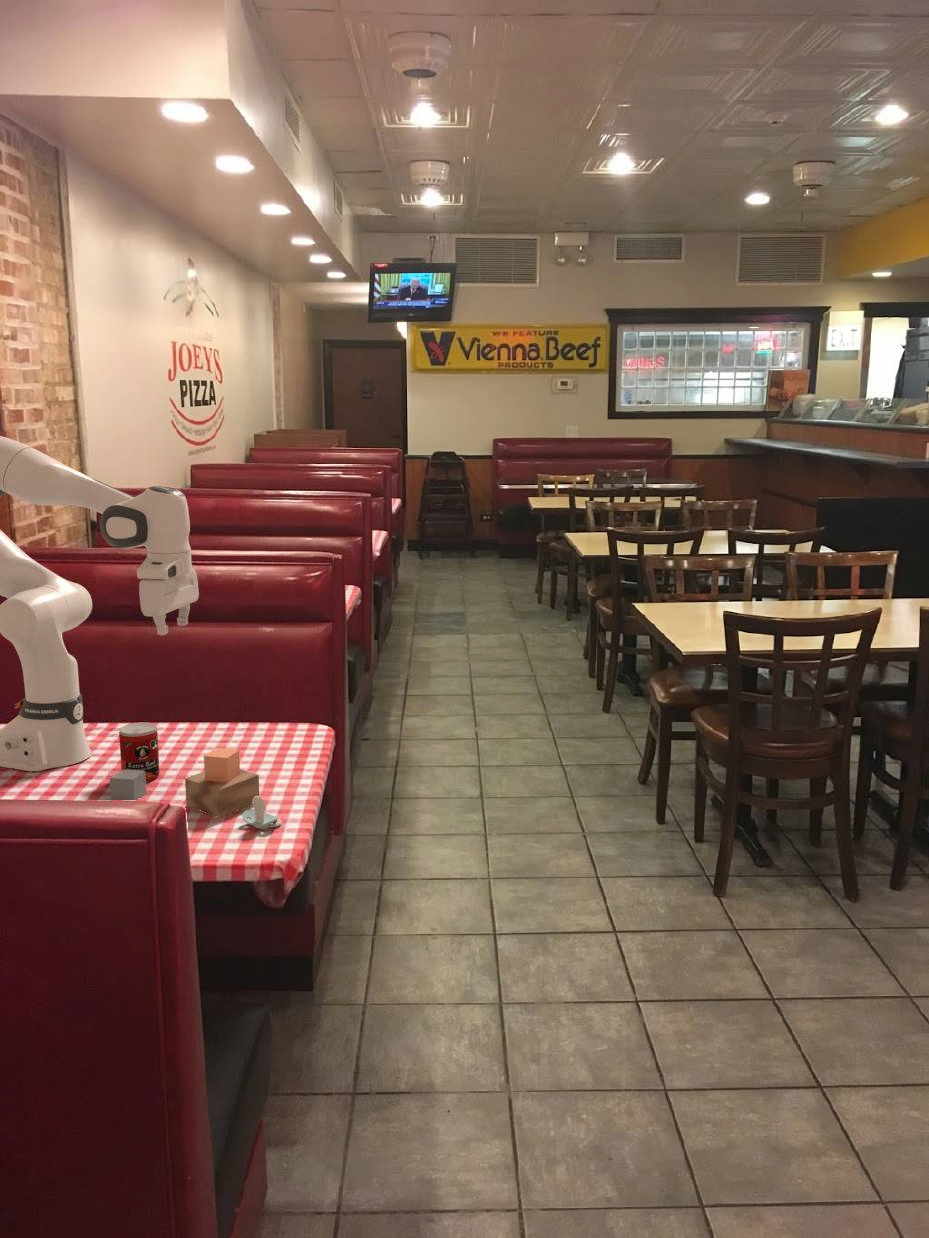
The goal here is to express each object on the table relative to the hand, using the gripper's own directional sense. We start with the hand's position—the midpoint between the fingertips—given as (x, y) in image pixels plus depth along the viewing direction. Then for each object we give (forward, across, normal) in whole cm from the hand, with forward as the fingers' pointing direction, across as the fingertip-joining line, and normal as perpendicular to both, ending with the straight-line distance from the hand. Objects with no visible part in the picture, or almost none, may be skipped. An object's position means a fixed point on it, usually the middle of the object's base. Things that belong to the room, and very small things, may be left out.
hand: (173, 629), depth 201 cm
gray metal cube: (+31, +17, -3) cm, 36 cm away
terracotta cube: (+25, +17, +17) cm, 35 cm away
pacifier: (+32, +25, +28) cm, 49 cm away
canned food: (+31, +6, -6) cm, 32 cm away
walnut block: (+31, +17, +17) cm, 40 cm away
